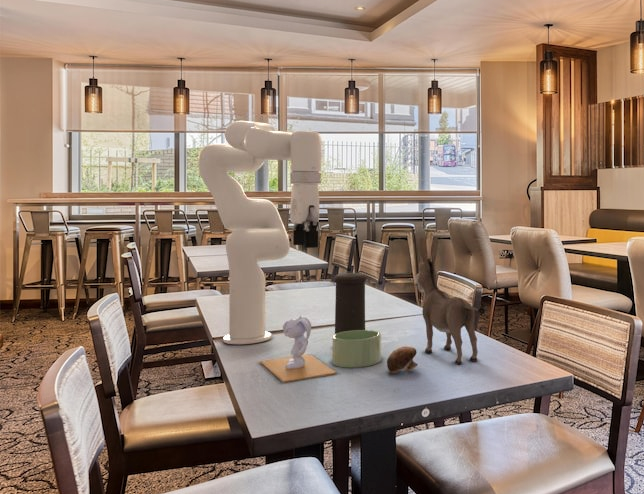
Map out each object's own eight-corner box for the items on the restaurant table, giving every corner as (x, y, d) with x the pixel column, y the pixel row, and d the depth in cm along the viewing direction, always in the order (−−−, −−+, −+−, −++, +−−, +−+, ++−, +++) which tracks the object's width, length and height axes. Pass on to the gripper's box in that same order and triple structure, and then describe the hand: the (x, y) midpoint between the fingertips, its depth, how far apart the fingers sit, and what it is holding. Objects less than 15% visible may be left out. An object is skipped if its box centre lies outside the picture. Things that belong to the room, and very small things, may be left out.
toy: (429, 340, 176) (429, 234, 176) (499, 367, 148) (499, 241, 149) (403, 344, 171) (403, 235, 171) (471, 372, 143) (471, 242, 144)
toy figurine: (284, 363, 150) (284, 313, 151) (311, 361, 152) (311, 312, 152) (281, 371, 144) (281, 319, 144) (310, 369, 145) (310, 317, 145)
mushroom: (430, 355, 147) (414, 334, 146) (416, 376, 139) (398, 355, 139) (407, 367, 150) (391, 347, 149) (392, 388, 143) (375, 367, 142)
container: (370, 343, 173) (370, 271, 173) (360, 351, 164) (360, 275, 164) (340, 342, 173) (340, 271, 174) (328, 350, 165) (328, 275, 165)
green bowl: (326, 359, 155) (326, 333, 156) (369, 353, 162) (369, 327, 162) (342, 370, 146) (342, 342, 146) (388, 362, 152) (388, 336, 152)
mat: (260, 362, 153) (260, 361, 153) (309, 355, 159) (309, 354, 159) (283, 382, 136) (283, 380, 136) (336, 373, 143) (336, 372, 143)
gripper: (281, 179, 164) (281, 244, 164) (301, 178, 150) (300, 249, 150) (310, 180, 168) (309, 243, 168) (331, 178, 154) (331, 247, 154)
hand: (305, 246), depth 159 cm, fingers open, 9 cm apart
